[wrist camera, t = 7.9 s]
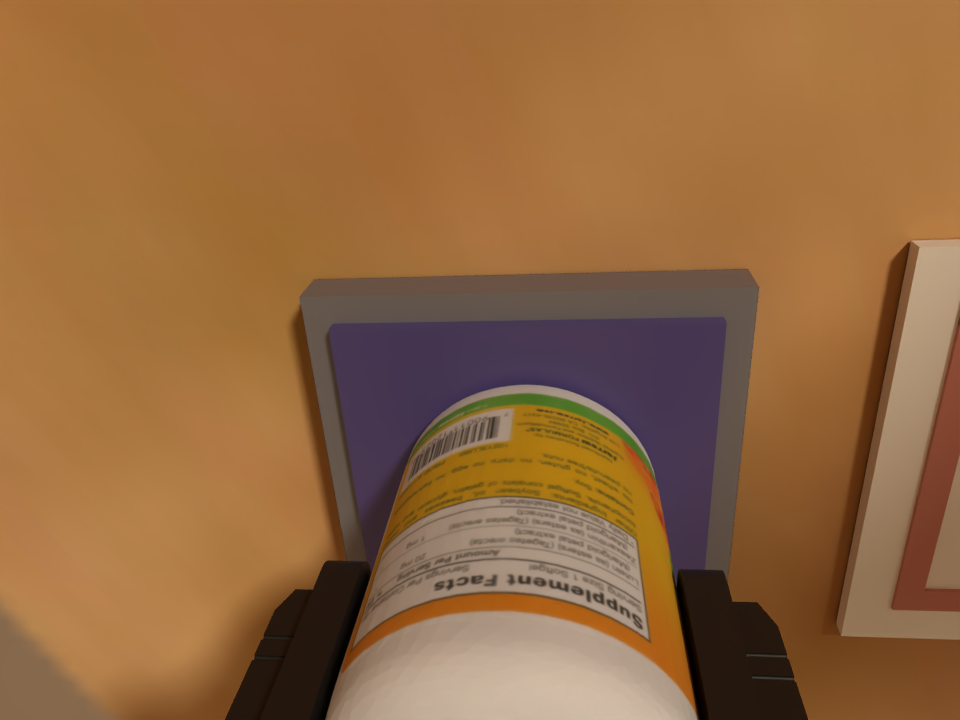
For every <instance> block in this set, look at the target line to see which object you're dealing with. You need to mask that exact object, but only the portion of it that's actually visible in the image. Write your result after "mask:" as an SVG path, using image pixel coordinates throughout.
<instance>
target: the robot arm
mask: <svg viewBox="0 0 960 720" xmlns="http://www.w3.org/2000/svg"><path fill="white" fill-rule="evenodd" d="M370 577H371V569H370V565H369V563H368V562H366V561H326V562H325V563H324V565H323V567H322V569H321V571H320V574H319V576H318V579H317V581H316V584H315V586H314V589H313V590H301V589H296V590H295V591H294V592H293V593H292V594H291V595H290V596H289V597H288V598H287V599H286V600H285V601H284V602H283V603H282V604H281V605H280V606H279V607H278V608H277V609H276V610H275V611H274V613H273V616H272V618H271V620H270V622H269V624H268V627H267V629H266V631H265V633H264V638H263V640H261V642H260V644H259V646H258V648H257V651H256V653H255V658H254V660H252V662H251V664H250V666H249V668H248V670H247V673H246V675H245V677H244V679H243V681H242V683H241V686H240V688H239V690H238V692H237V694H236V697H235V699H234V701H233V703H232V705H231V708H230V710H229V712H228V714H227V716H226V718H225V720H325V719H326V715H327V712H328V708H329V705H330V701H331V697H332V694H333V691H334V688H335V685H336V682H337V679H338V676H339V672H340V669H341V666H342V663H343V660H344V657H345V654H346V651H347V648H348V645H349V642H350V639H351V636H352V633H353V630H354V627H355V624H356V620H357V617H358V614H359V611H360V608H361V605H362V602H363V599H364V596H365V592H366V589H367V586H368V583H369V580H370ZM676 589H677V594H678V600H679V605H680V611H681V616H682V622H683V628H684V633H685V639H686V644H687V650H688V656H689V661H690V667H691V672H692V678H693V683H694V689H695V694H696V699H697V705H698V710H699V716H700V720H808V718H807V715H806V712H805V708H804V705H803V702H802V699H801V696H800V693H799V690H798V687H797V684H796V682H795V681H794V675H793V671H792V668H791V665H790V662H789V659H787V653H786V650H785V647H784V644H783V641H782V638H781V634H780V631H779V628H778V626H777V625H776V624H775V623H774V621H773V620H772V619H771V618H770V617H769V616H768V614H767V613H766V612H765V611H764V610H763V609H762V607H761V606H760V605H759V604H758V603H757V602H732V599H731V595H730V591H729V587H728V584H727V580H726V576H725V574H724V572H723V570H700V569H679V570H678V574H677V586H676Z"/></svg>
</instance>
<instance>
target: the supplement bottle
mask: <svg viewBox="0 0 960 720" xmlns="http://www.w3.org/2000/svg"><path fill="white" fill-rule="evenodd" d="M325 720H700V716H699V710H698V705H697V699H696V694H695V689H694V683H693V678H692V672H691V667H690V661H689V656H688V650H687V644H686V639H685V633H684V628H683V622H682V616H681V611H680V605H679V600H678V594H677V589H676V583H675V577H674V572H673V566H672V561H671V555H670V550H669V544H668V538H667V532H666V527H665V521H664V516H663V511H662V506H661V501H660V495H659V490H658V487H657V483H656V479H655V474H654V470H653V467H652V465H651V462H650V459H649V457H648V455H647V453H646V451H645V449H644V447H643V446H642V444H641V443H640V441H639V439H638V438H637V437H636V435H635V434H634V433H633V432H632V431H631V429H630V428H629V427H628V426H627V425H626V424H625V423H624V422H623V421H622V420H621V419H620V418H618V417H617V416H616V415H615V414H613V413H612V412H611V411H609V410H608V409H606V408H605V407H603V406H601V405H600V404H598V403H596V402H594V401H592V400H590V399H588V398H586V397H583V396H581V395H578V394H576V393H573V392H570V391H567V390H563V389H559V388H555V387H548V386H542V385H513V386H505V387H498V388H493V389H490V390H486V391H482V392H479V393H476V394H474V395H471V396H469V397H466V398H464V399H462V400H460V401H459V402H457V403H455V404H453V405H452V406H450V407H449V408H448V409H446V410H445V411H444V412H442V413H441V414H440V415H439V416H437V417H436V418H435V419H434V420H433V421H432V422H431V424H430V425H429V426H428V427H427V428H426V429H425V431H424V432H423V433H422V435H421V436H420V438H419V439H418V441H417V443H416V444H415V446H414V448H413V450H412V453H411V455H410V457H409V460H408V463H407V466H406V468H405V471H404V474H403V477H402V480H401V483H400V486H399V489H398V492H397V495H396V498H395V501H394V504H393V508H392V511H391V514H390V517H389V520H388V523H387V526H386V530H385V533H384V536H383V539H382V542H381V545H380V548H379V552H378V555H377V558H376V561H375V564H374V567H373V571H372V574H371V577H370V580H369V583H368V586H367V589H366V592H365V596H364V599H363V602H362V605H361V608H360V611H359V614H358V617H357V620H356V624H355V627H354V630H353V633H352V636H351V639H350V642H349V645H348V648H347V651H346V654H345V657H344V660H343V663H342V666H341V669H340V672H339V676H338V679H337V682H336V685H335V688H334V691H333V694H332V697H331V701H330V705H329V708H328V712H327V715H326V719H325Z"/></svg>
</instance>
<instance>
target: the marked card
mask: <svg viewBox="0 0 960 720" xmlns="http://www.w3.org/2000/svg"><path fill="white" fill-rule="evenodd" d="M836 625H837V628H838V630H839V632H840V635H841V636H852V637H885V638H918V639H951V640H960V239H952V240H916V241H911V244H910V249H909V254H908V259H907V264H906V269H905V274H904V279H903V284H902V289H901V295H900V300H899V305H898V310H897V315H896V320H895V325H894V330H893V335H892V340H891V346H890V351H889V356H888V361H887V366H886V371H885V376H884V381H883V386H882V391H881V397H880V402H879V407H878V412H877V417H876V422H875V427H874V432H873V437H872V442H871V448H870V453H869V458H868V463H867V468H866V473H865V478H864V483H863V488H862V493H861V499H860V504H859V509H858V514H857V519H856V524H855V529H854V534H853V539H852V544H851V550H850V555H849V560H848V565H847V570H846V575H845V580H844V585H843V590H842V595H841V601H840V606H839V611H838V616H837V621H836Z"/></svg>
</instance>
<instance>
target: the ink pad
mask: <svg viewBox="0 0 960 720" xmlns="http://www.w3.org/2000/svg"><path fill="white" fill-rule="evenodd" d="M758 293H759V286H758V285H757V283H756V281H755V280H754V278H753V276H752V275H751V273H750V272H749V270H748V269H730V270H689V271H647V272H606V273H565V274H524V275H483V276H441V277H400V278H359V279H318V280H313V281H312V283H311V284H310V285H309V286H308V287H307V289H306V290H305V291H304V292H303V293H302V295H301V296H300V303H301V308H302V314H303V320H304V325H305V331H306V336H307V342H308V347H309V353H310V358H311V364H312V369H313V375H314V381H315V386H316V392H317V397H318V403H319V408H320V414H321V419H322V425H323V430H324V436H325V442H326V447H327V453H328V458H329V464H330V469H331V475H332V480H333V486H334V491H335V497H336V502H337V508H338V514H339V519H340V525H341V530H342V536H343V541H344V547H345V552H346V558H347V561H366V562H368V563H369V565H370V569H371V574H372V571H373V567H374V564H375V561H376V558H377V555H378V552H379V548H380V545H381V542H382V539H383V536H384V533H385V530H386V526H387V523H388V520H389V517H390V514H391V511H392V508H393V504H394V501H395V498H396V495H397V492H398V489H399V486H400V483H401V480H402V477H403V474H404V471H405V468H406V466H407V463H408V460H409V457H410V455H411V453H412V450H413V448H414V446H415V444H416V443H417V441H418V439H419V438H420V436H421V435H422V433H423V432H424V431H425V429H426V428H427V427H428V426H429V425H430V424H431V422H432V421H433V420H434V419H435V418H436V417H437V416H439V415H440V414H441V413H442V412H444V411H445V410H446V409H448V408H449V407H450V406H452V405H453V404H455V403H457V402H459V401H460V400H462V399H464V398H466V397H469V396H471V395H474V394H476V393H479V392H482V391H486V390H490V389H493V388H498V387H505V386H513V385H542V386H548V387H555V388H559V389H563V390H567V391H570V392H573V393H576V394H578V395H581V396H583V397H586V398H588V399H590V400H592V401H594V402H596V403H598V404H600V405H601V406H603V407H605V408H606V409H608V410H609V411H611V412H612V413H613V414H615V415H616V416H617V417H618V418H620V419H621V420H622V421H623V422H624V423H625V424H626V425H627V426H628V427H629V428H630V429H631V431H632V432H633V433H634V434H635V435H636V437H637V438H638V439H639V441H640V443H641V444H642V446H643V447H644V449H645V451H646V453H647V455H648V457H649V459H650V462H651V465H652V467H653V470H654V474H655V479H656V483H657V487H658V490H659V495H660V501H661V506H662V511H663V516H664V521H665V527H666V532H667V538H668V544H669V550H670V555H671V561H672V566H673V572H674V577H675V583H676V586H677V574H678V570H679V569H700V570H723V572H724V574H725V576H726V580H727V583H728V573H729V564H730V555H731V545H732V536H733V527H734V517H735V508H736V499H737V489H738V480H739V471H740V461H741V452H742V443H743V433H744V424H745V415H746V405H747V396H748V387H749V377H750V368H751V359H752V349H753V340H754V331H755V321H756V312H757V303H758Z"/></svg>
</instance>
